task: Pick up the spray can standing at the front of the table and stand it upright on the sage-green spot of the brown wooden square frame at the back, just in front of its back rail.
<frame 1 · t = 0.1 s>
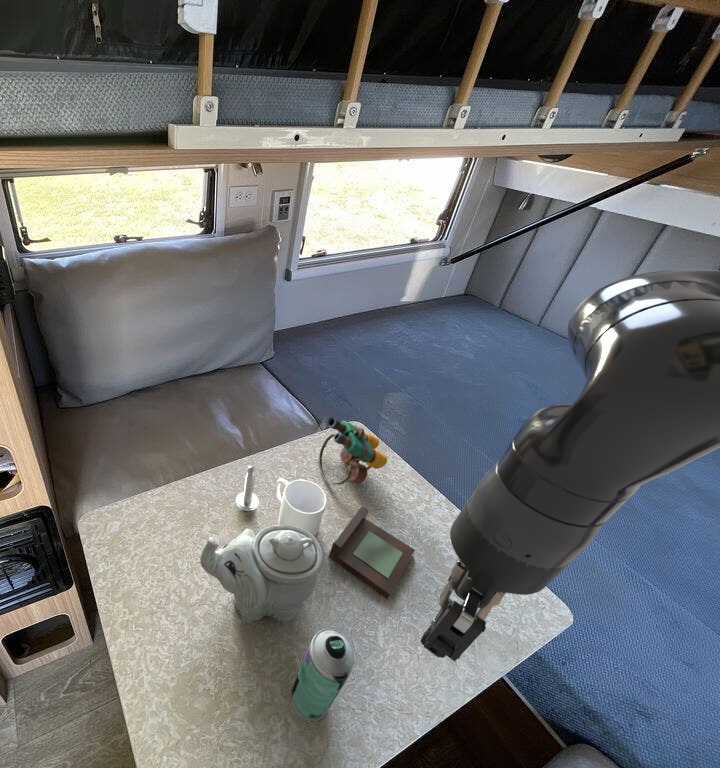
hand: (445, 614, 42), 30 cm above the table, tool pointing down, fingers open, 8 cm apart
screw: (246, 507, 89), on the table
spray can: (309, 698, 61), on the table
teapot: (254, 595, 73), on the table
cup: (290, 520, 86), on the table
binoculars: (346, 471, 98), on the table
brown wooden square frame: (370, 556, 80), on the table
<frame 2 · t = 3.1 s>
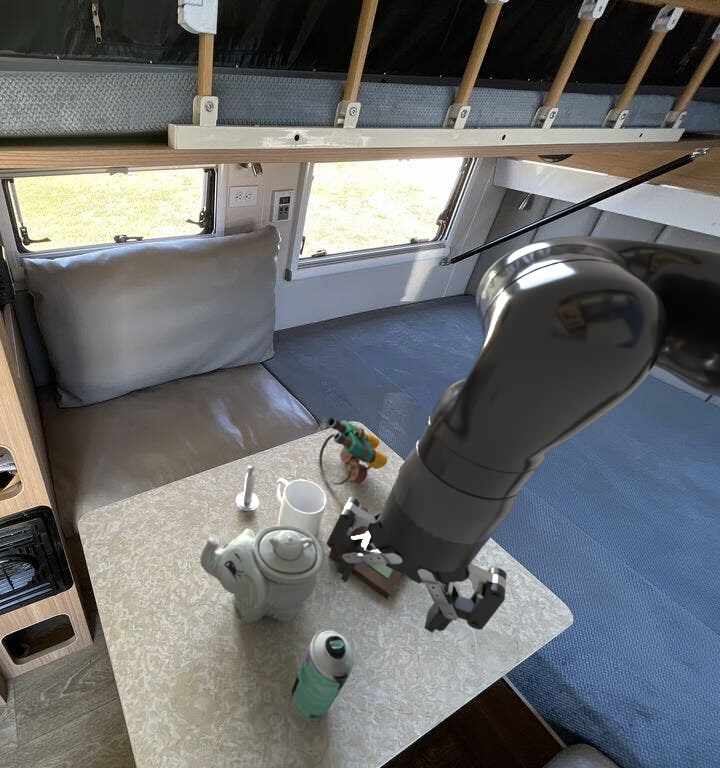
hand: (386, 597, 42), 32 cm above the table, tool pointing down, fingers open, 8 cm apart
nothing on the table moved.
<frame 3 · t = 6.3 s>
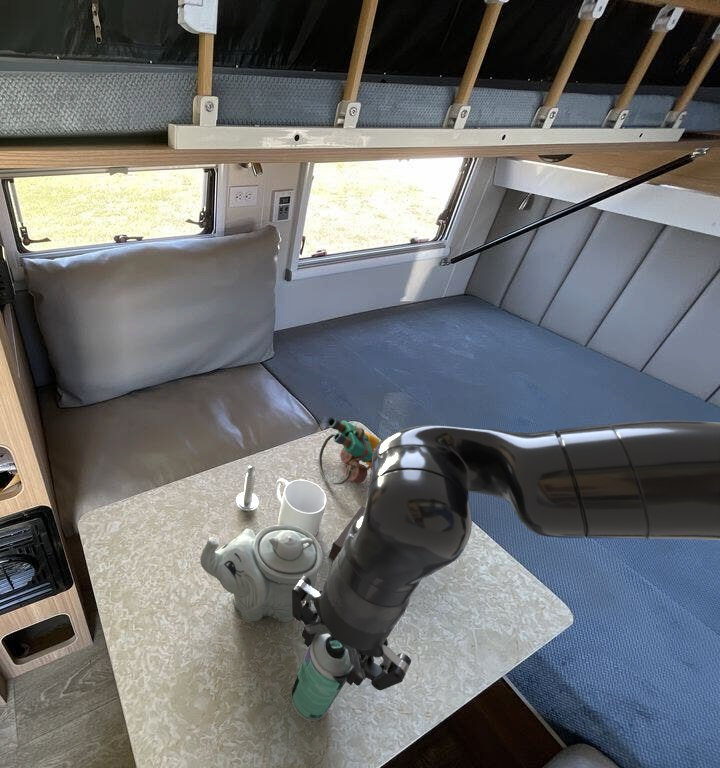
hand: (330, 657, 52), 15 cm above the table, tool pointing down, fingers closed on spray can, 5 cm apart
spray can: (309, 699, 61), on the table, touching gripper
everything else where it was.
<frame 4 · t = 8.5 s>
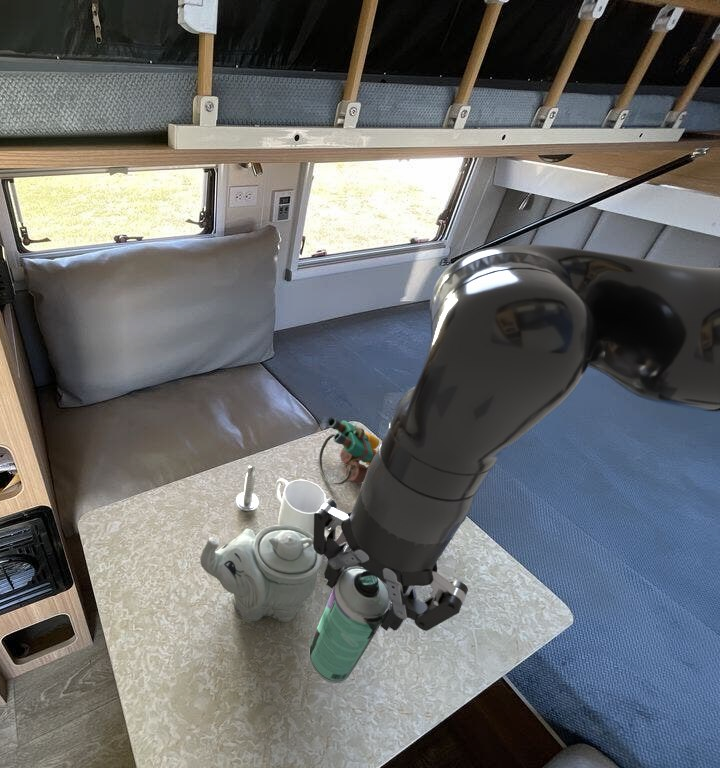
hand: (359, 600, 43), 30 cm above the table, tool pointing down, fingers closed on spray can, 5 cm apart
spray can: (329, 659, 52), point 15 cm above the table, touching gripper
everything else where it was.
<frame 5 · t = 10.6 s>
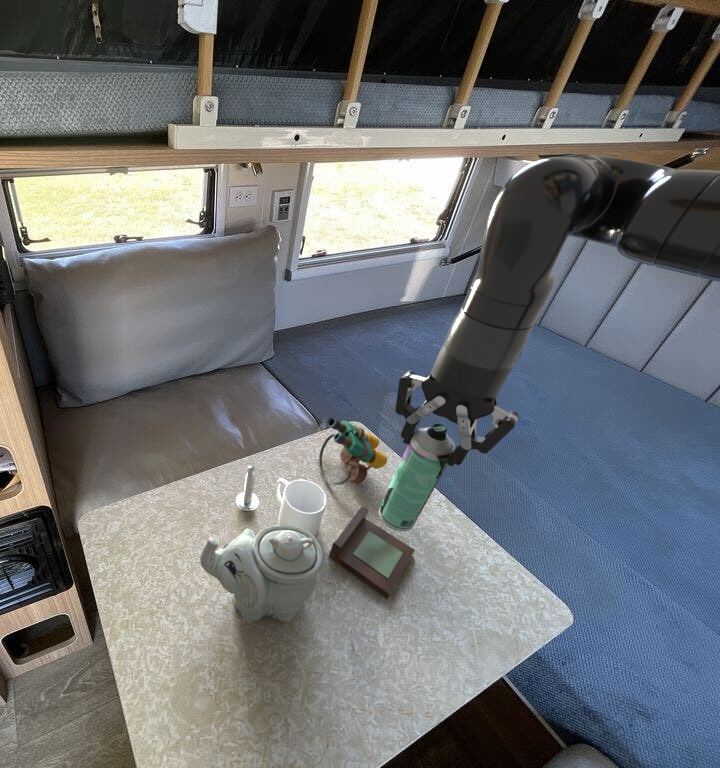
hand: (429, 450, 57), 33 cm above the table, tool pointing down, fingers closed on spray can, 5 cm apart
spray can: (395, 517, 66), point 18 cm above the table, touching gripper
everything else where it was.
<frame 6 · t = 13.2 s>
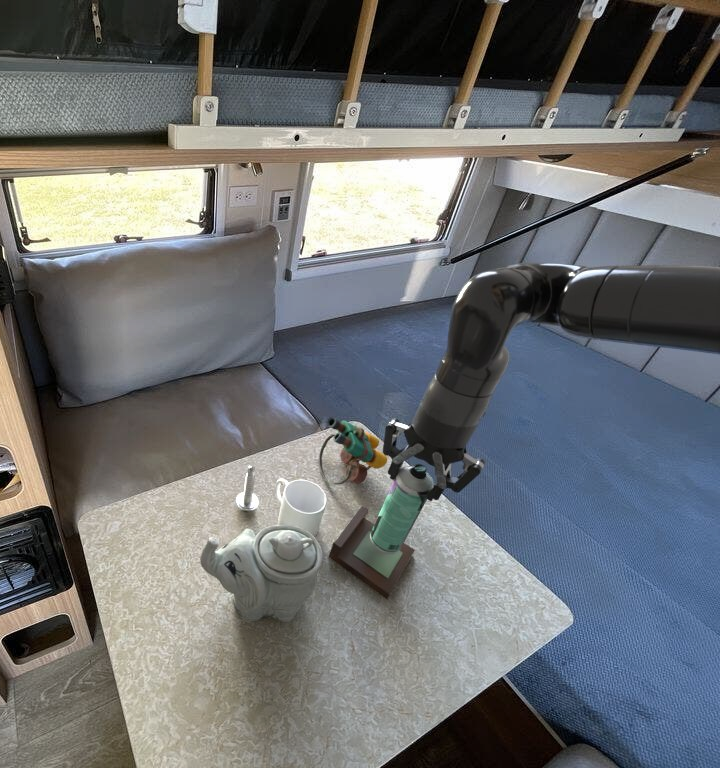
hand: (412, 486, 66), 22 cm above the table, tool pointing down, fingers closed on spray can, 5 cm apart
spray can: (384, 541, 75), point 6 cm above the table, touching gripper
everything else where it was.
when the fingers open (18 cm above the table, at t = 14.9 s): spray can stays where it is, resting on brown wooden square frame.
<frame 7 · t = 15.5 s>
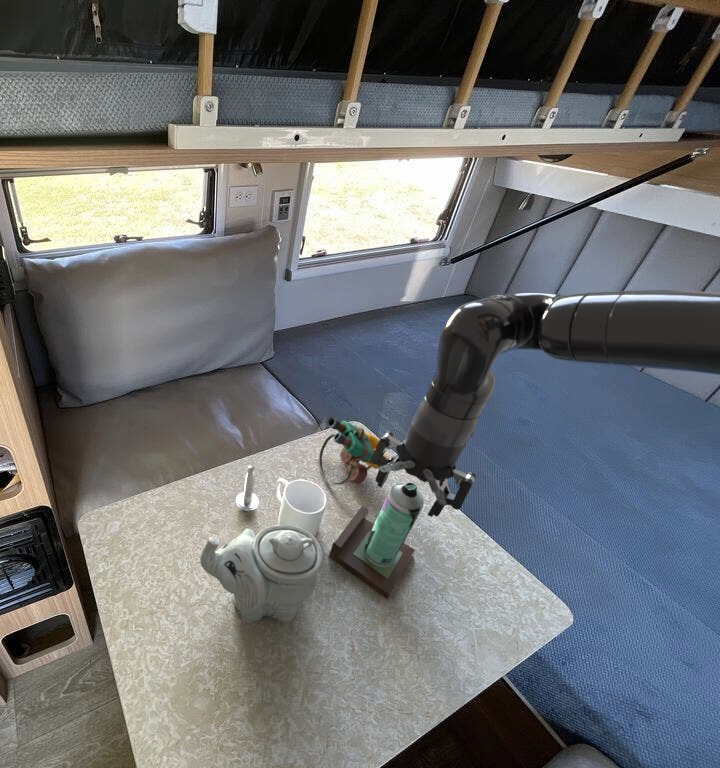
hand: (405, 498, 68), 19 cm above the table, tool pointing down, fingers open, 8 cm apart
spray can: (378, 554, 78), point 2 cm above the table, touching brown wooden square frame
everything else where it was.
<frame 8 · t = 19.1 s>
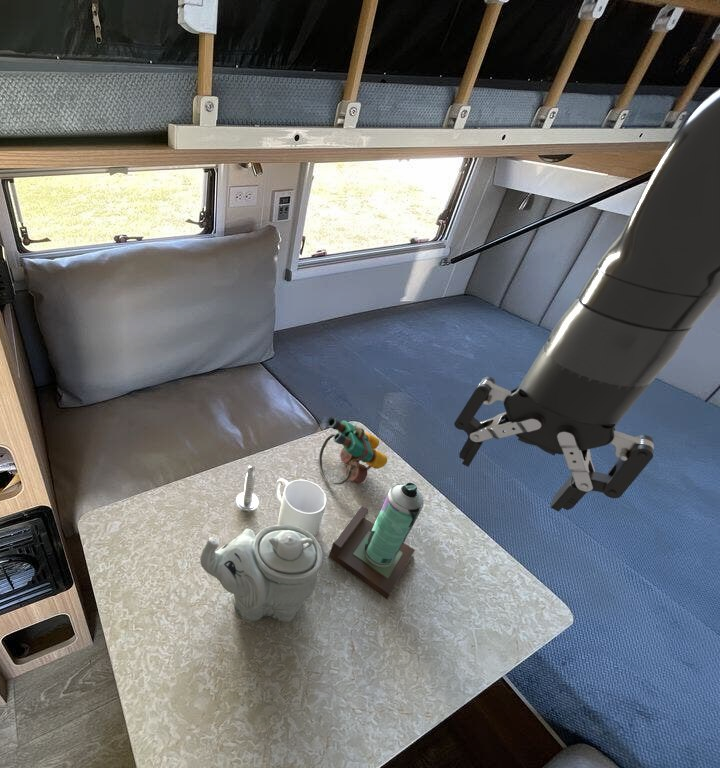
hand: (509, 482, 44), 40 cm above the table, tool pointing down, fingers open, 8 cm apart
nothing on the table moved.
at the end: spray can 0.6 cm off-centre on the brown wooden square frame, point 2.0 cm above the brown wooden square frame's base; spray can tilted 0°; the gripper is holding nothing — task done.
